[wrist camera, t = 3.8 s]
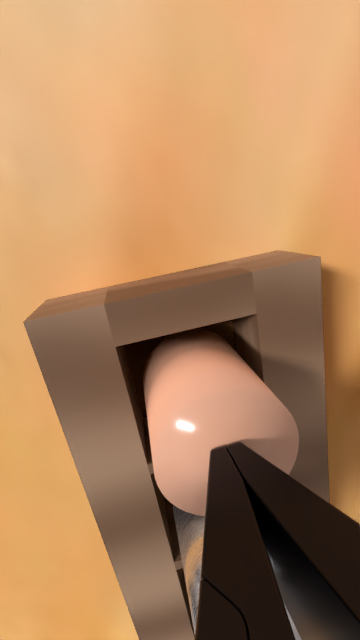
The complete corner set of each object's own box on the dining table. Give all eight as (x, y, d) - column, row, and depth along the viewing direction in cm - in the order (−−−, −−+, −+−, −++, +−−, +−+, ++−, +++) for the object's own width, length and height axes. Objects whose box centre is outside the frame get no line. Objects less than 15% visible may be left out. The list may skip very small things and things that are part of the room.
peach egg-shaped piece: (244, 405, 13) (302, 492, 9) (154, 429, 13) (169, 533, 9) (232, 319, 12) (294, 372, 8) (132, 342, 12) (137, 413, 7)
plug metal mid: (266, 520, 14) (332, 654, 10) (182, 546, 14) (210, 700, 9) (257, 450, 13) (328, 567, 8) (164, 477, 12) (186, 616, 8)
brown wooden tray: (302, 552, 19) (333, 608, 17) (147, 604, 18) (151, 672, 16) (279, 250, 13) (320, 256, 11) (46, 300, 12) (23, 321, 10)
